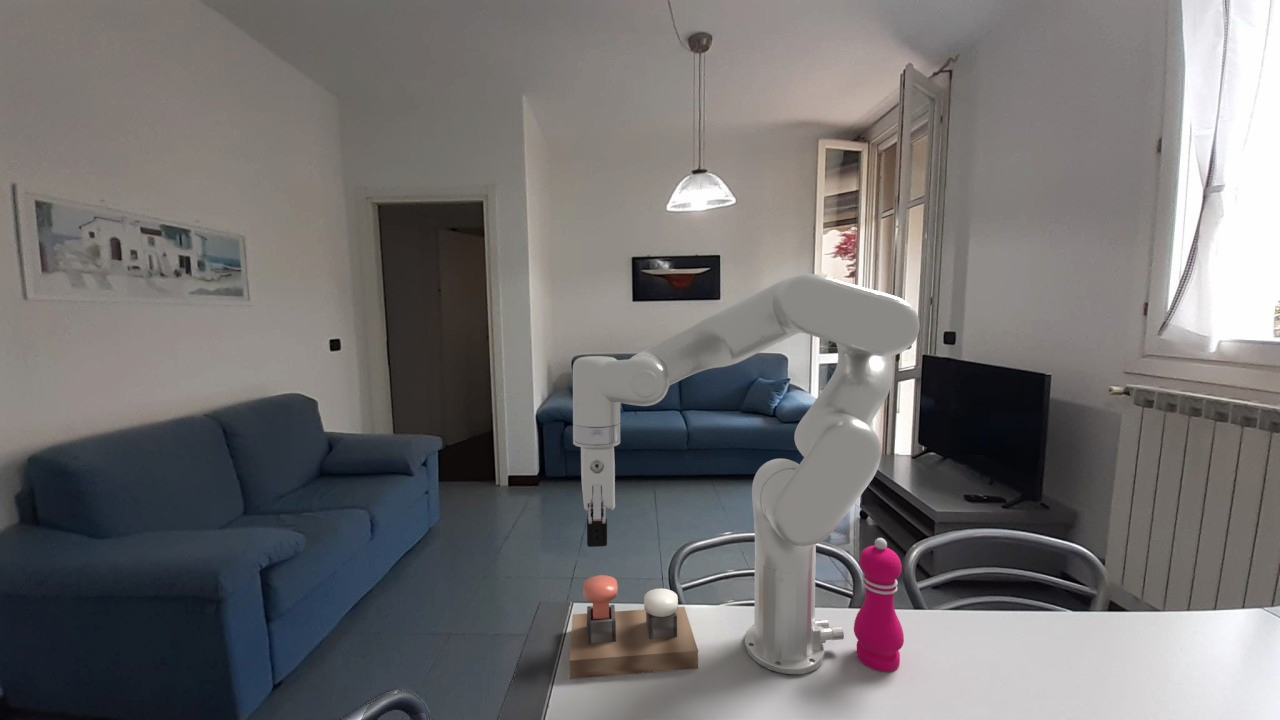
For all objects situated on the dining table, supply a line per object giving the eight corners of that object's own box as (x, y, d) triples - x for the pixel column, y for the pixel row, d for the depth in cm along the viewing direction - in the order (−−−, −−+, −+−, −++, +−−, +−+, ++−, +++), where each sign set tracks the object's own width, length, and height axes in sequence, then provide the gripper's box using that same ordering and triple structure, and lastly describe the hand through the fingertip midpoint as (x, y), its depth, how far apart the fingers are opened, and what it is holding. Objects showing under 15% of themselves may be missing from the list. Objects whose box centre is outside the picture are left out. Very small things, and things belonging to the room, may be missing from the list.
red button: (617, 603, 86) (616, 574, 86) (618, 623, 80) (618, 592, 80) (584, 605, 85) (583, 576, 85) (583, 625, 80) (582, 594, 79)
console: (684, 622, 91) (684, 588, 90) (698, 668, 79) (697, 629, 78) (573, 630, 89) (572, 595, 88) (569, 679, 77) (568, 638, 77)
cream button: (675, 616, 87) (674, 587, 87) (680, 636, 82) (680, 606, 81) (643, 618, 87) (642, 589, 86) (646, 639, 81) (645, 608, 81)
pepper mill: (909, 677, 76) (913, 550, 75) (858, 671, 78) (861, 547, 76) (895, 646, 83) (898, 530, 82) (849, 641, 85) (851, 527, 83)
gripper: (622, 445, 73) (622, 566, 75) (617, 423, 88) (617, 524, 90) (571, 446, 73) (571, 568, 74) (574, 424, 87) (575, 526, 89)
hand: (597, 544), depth 82 cm, fingers closed
